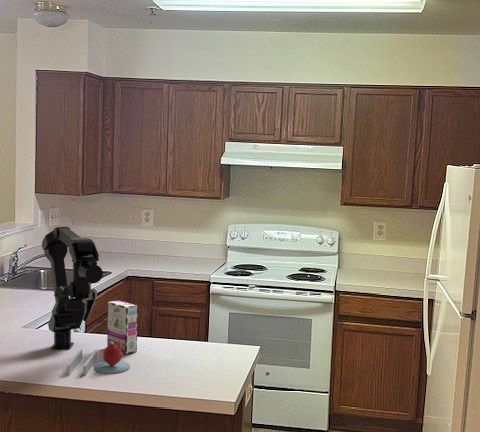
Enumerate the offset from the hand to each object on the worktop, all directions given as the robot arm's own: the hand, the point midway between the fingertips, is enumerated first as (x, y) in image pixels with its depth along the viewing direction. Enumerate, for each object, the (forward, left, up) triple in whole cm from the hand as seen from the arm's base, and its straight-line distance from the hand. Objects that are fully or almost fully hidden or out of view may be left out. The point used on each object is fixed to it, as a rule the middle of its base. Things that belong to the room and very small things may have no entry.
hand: (81, 324), depth 215 cm
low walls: (+6, +2, -12) cm, 14 cm away
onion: (+6, +11, -12) cm, 17 cm away
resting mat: (+6, +11, -12) cm, 18 cm away
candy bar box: (-13, +11, -12) cm, 21 cm away
